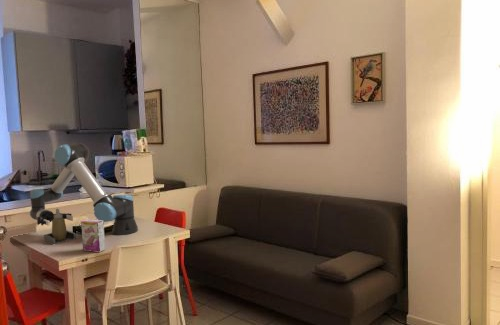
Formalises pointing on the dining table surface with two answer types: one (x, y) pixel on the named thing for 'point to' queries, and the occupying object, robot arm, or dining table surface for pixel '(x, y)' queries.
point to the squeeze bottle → (58, 226)
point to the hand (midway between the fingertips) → (60, 220)
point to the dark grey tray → (52, 240)
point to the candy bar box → (93, 235)
